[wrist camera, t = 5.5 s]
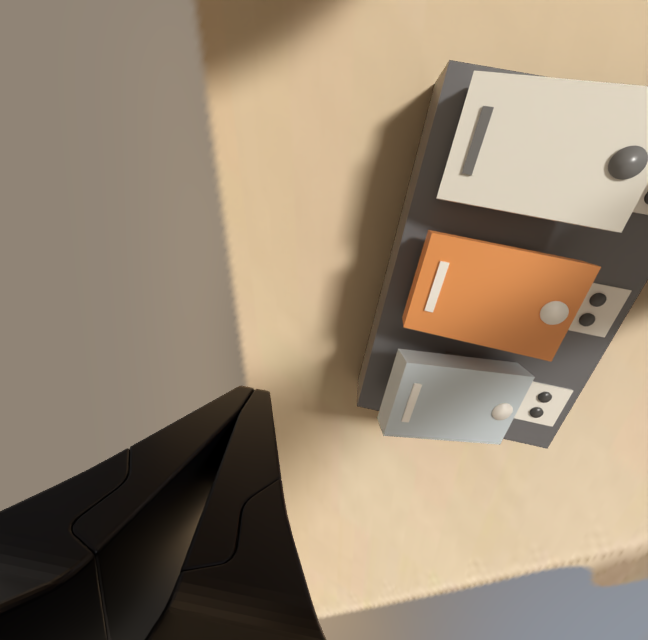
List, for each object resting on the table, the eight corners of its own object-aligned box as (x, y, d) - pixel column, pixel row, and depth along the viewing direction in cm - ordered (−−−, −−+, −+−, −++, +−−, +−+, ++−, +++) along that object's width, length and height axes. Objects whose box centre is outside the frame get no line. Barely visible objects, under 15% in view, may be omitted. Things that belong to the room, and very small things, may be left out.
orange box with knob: (582, 260, 14) (602, 267, 13) (538, 348, 16) (552, 362, 15) (428, 229, 15) (432, 232, 14) (402, 317, 17) (403, 327, 16)
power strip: (679, 125, 15) (765, 107, 12) (524, 417, 22) (552, 455, 19) (435, 83, 16) (453, 54, 13) (357, 380, 23) (356, 412, 20)
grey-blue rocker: (517, 362, 18) (536, 377, 16) (486, 426, 19) (501, 445, 18) (398, 348, 17) (407, 363, 15) (377, 417, 18) (383, 436, 17)
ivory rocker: (668, 103, 12) (699, 89, 10) (604, 230, 13) (622, 232, 12) (470, 83, 13) (474, 69, 12) (436, 198, 15) (436, 198, 14)
